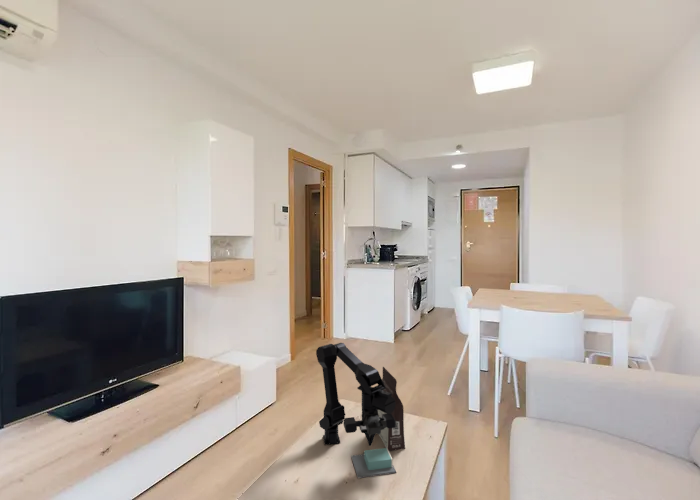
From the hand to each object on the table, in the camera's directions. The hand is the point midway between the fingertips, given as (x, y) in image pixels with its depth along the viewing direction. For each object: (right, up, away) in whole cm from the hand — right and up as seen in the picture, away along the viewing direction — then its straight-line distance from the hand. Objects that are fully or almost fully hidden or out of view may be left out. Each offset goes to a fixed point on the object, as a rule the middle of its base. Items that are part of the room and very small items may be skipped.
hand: (369, 445), depth 130 cm
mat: (+1, -8, +1) cm, 8 cm away
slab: (-1, -5, 0) cm, 6 cm away
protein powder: (+9, -7, +17) cm, 21 cm away
